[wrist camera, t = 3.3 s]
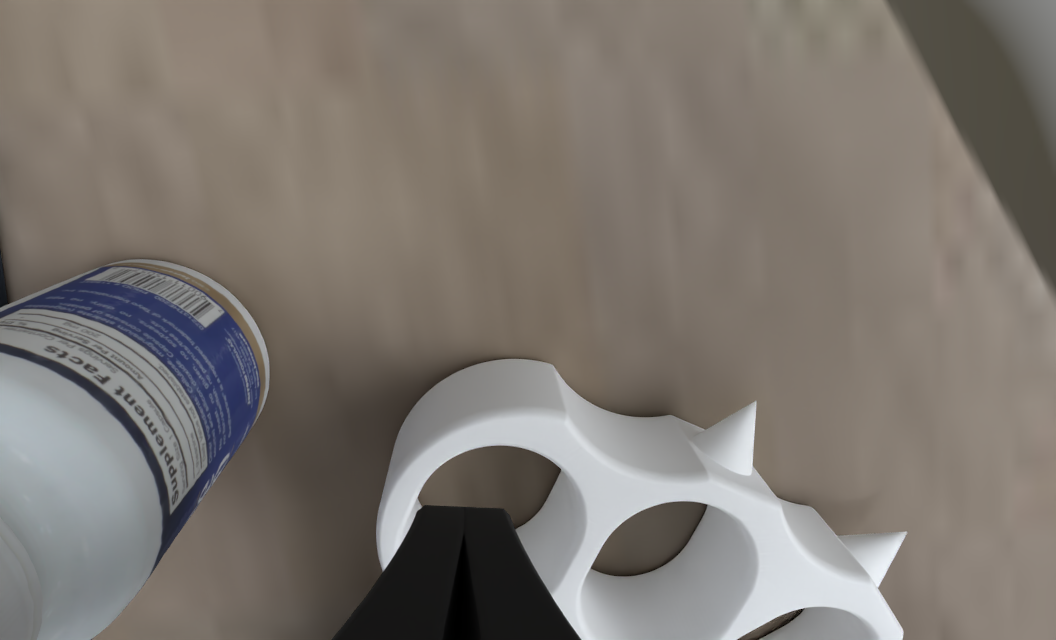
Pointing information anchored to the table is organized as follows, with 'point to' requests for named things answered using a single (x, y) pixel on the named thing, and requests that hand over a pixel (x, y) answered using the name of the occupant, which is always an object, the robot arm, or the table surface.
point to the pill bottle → (113, 434)
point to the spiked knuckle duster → (634, 485)
